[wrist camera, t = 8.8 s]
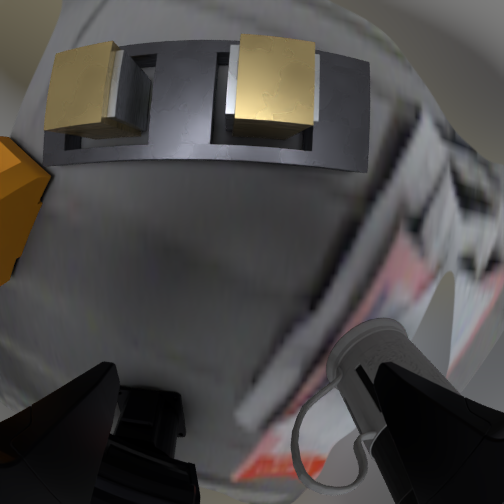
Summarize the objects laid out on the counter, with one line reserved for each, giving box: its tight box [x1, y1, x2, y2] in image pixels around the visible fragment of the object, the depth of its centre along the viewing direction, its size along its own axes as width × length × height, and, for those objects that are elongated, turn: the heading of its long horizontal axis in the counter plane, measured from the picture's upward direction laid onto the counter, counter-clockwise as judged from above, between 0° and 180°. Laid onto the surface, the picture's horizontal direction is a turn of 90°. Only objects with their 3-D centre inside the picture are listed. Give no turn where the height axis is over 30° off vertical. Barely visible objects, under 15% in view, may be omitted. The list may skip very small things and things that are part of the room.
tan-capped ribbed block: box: [44, 41, 151, 139], centre depth 14 cm, size 4×4×7 cm
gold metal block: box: [225, 34, 320, 140], centre depth 15 cm, size 4×4×7 cm
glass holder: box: [291, 318, 460, 504], centre depth 17 cm, size 9×14×15 cm, turn 80°
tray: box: [43, 40, 370, 173], centre depth 17 cm, size 8×22×2 cm, turn 87°
